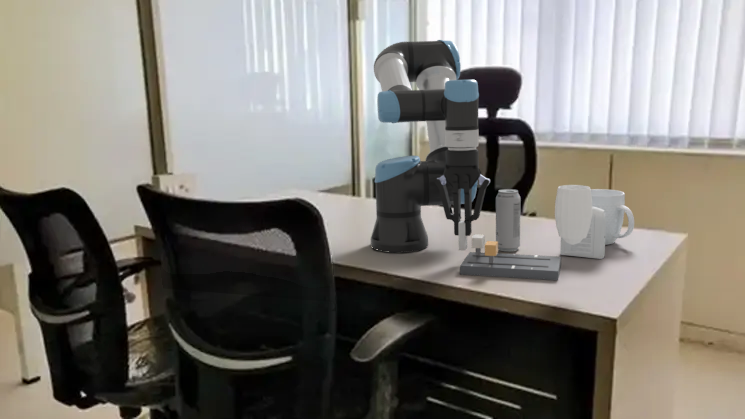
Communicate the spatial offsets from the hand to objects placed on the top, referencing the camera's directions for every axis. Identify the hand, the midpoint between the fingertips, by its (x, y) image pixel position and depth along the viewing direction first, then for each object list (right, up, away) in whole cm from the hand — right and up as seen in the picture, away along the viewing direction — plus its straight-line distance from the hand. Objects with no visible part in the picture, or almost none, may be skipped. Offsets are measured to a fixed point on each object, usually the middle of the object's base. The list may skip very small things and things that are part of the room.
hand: (463, 248), depth 153 cm
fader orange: (+5, -2, -7) cm, 9 cm away
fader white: (+3, -1, -1) cm, 4 cm away
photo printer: (+29, -2, +4) cm, 29 cm away
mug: (+38, 0, +15) cm, 41 cm away
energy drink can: (+13, -1, +12) cm, 18 cm away
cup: (+20, -7, -19) cm, 28 cm away
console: (+10, -4, -6) cm, 12 cm away
